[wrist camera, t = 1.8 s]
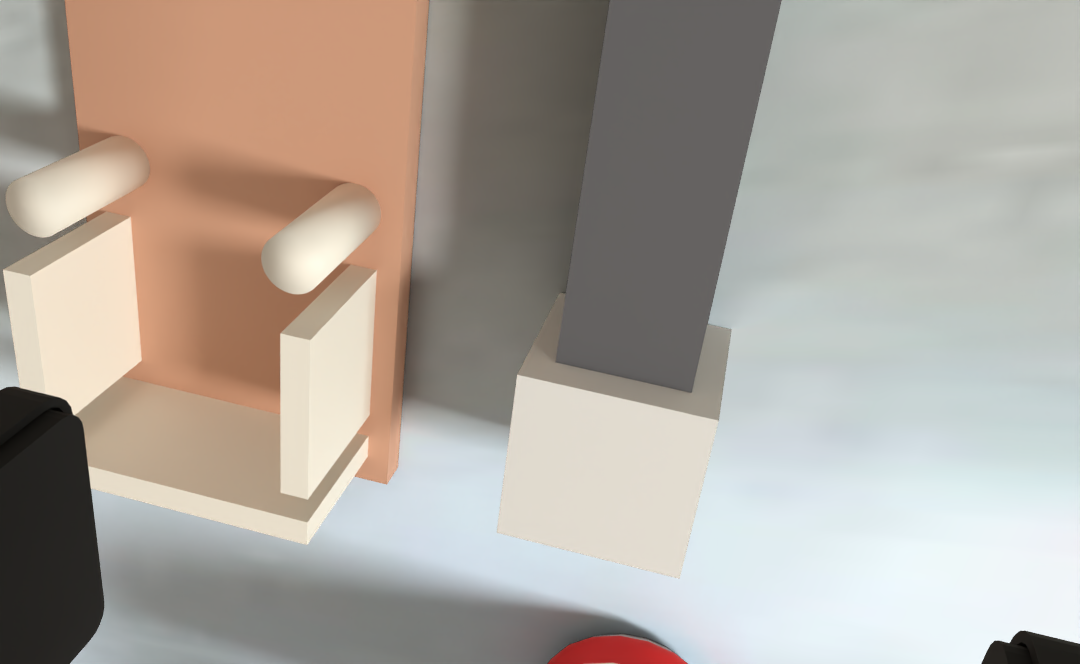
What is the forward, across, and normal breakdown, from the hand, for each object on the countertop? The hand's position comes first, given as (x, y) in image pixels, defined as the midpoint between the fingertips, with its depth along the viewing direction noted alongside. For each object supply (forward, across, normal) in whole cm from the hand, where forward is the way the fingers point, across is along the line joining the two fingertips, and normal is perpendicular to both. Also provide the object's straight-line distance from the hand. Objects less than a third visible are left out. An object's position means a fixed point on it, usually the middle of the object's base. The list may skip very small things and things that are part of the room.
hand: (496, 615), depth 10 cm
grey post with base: (+18, 0, -1) cm, 18 cm away
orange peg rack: (+18, +12, 0) cm, 22 cm away
